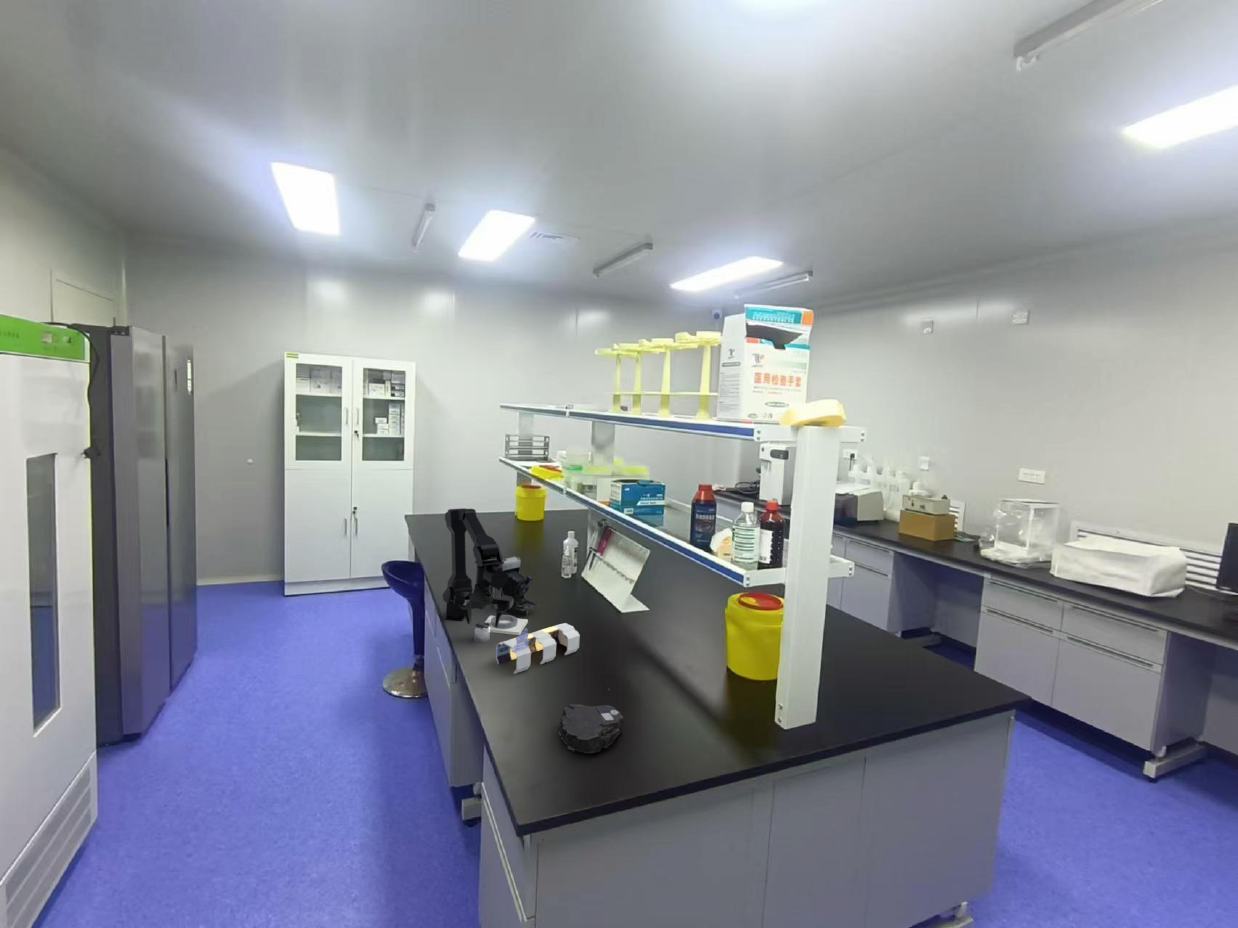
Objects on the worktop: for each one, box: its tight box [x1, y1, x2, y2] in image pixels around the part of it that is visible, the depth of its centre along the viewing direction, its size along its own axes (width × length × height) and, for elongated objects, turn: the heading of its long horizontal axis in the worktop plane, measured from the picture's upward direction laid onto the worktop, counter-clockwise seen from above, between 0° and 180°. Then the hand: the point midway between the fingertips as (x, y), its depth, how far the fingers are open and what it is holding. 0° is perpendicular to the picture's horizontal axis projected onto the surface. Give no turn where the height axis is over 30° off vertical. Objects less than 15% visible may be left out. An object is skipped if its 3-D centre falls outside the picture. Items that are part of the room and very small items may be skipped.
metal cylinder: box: [473, 621, 491, 643], centre depth 185 cm, size 5×5×5 cm
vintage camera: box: [493, 555, 538, 616], centre depth 212 cm, size 10×15×20 cm, turn 53°
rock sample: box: [558, 703, 625, 754], centre depth 135 cm, size 18×16×5 cm
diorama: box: [495, 622, 581, 675], centre depth 174 cm, size 25×10×13 cm, turn 138°
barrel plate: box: [484, 614, 529, 636], centre depth 197 cm, size 14×12×2 cm
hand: (482, 625), depth 185 cm, fingers open, 9 cm apart
